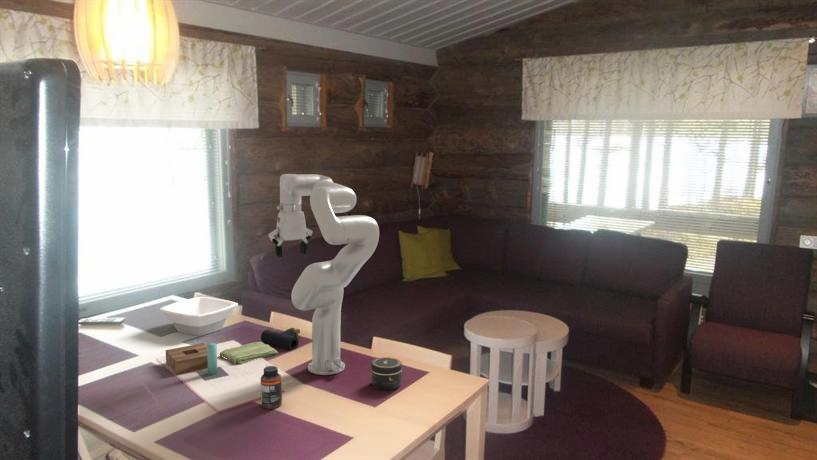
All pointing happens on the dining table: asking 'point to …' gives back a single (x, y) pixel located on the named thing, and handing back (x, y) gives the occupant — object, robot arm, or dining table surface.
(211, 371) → the peg
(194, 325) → the bowl
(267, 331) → the pipe connector
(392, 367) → the jar
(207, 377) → the mat
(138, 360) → the dining table surface
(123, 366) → the dining table surface
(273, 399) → the supplement bottle
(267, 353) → the washcloth
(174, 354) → the hole block
